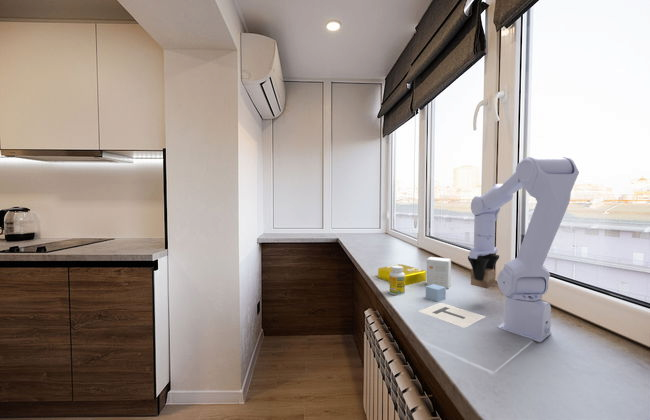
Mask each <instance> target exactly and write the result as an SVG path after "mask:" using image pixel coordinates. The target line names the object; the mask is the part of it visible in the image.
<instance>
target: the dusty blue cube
mask: <svg viewBox="0 0 650 420" xmlns="http://www.w3.org/2000/svg"><path fill="white" fill-rule="evenodd" d="M446 290H447V289H446V287H443V286H439V285H435V284H432V285H426V286H425V299H427V300H431V301H433V302H437V303H440V302H442V301H444V300H446V296H447V295H446V293H447V291H446Z"/></svg>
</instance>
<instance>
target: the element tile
mask: <svg viewBox="0 0 650 420" xmlns="http://www.w3.org/2000/svg"><path fill="white" fill-rule="evenodd" d="M396 265H397V266H402V267H403V271H402V272H403V273H404V274H405V286H411V285H414V284H418V283H422V282H427V270H425V269H421V268H417V267H413V266H409V265H404V264H401V263H400V264H395V265H389V266H383V267H379V268H378V269H377V271H378V272H377V278H378V279H380V280H382V281H387V282H389V275H390V272H392V270H391V267H392V266H396Z"/></svg>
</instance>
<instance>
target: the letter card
mask: <svg viewBox="0 0 650 420" xmlns="http://www.w3.org/2000/svg"><path fill="white" fill-rule="evenodd" d="M418 312H419V313H422V314H424V315H428V316H431V317H433V318H436V319H439V320H441V321H444V322H447V323H450V324H453V325H455V326H458V327H461V328H463V329H465V328H468V327H469V326H472V325H473V324H475V323H476V322H478V321H480V320H482V319H485V318H486V315H482V314H479V313H475V312H472V311H470V310H466V309H463V308H459V307H456V306H453V305H450V304H447V303H443V302H442V301H439V302H437V303H434V304H433V305H431V306H427V307H426V308H423V309H420V310H418Z"/></svg>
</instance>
